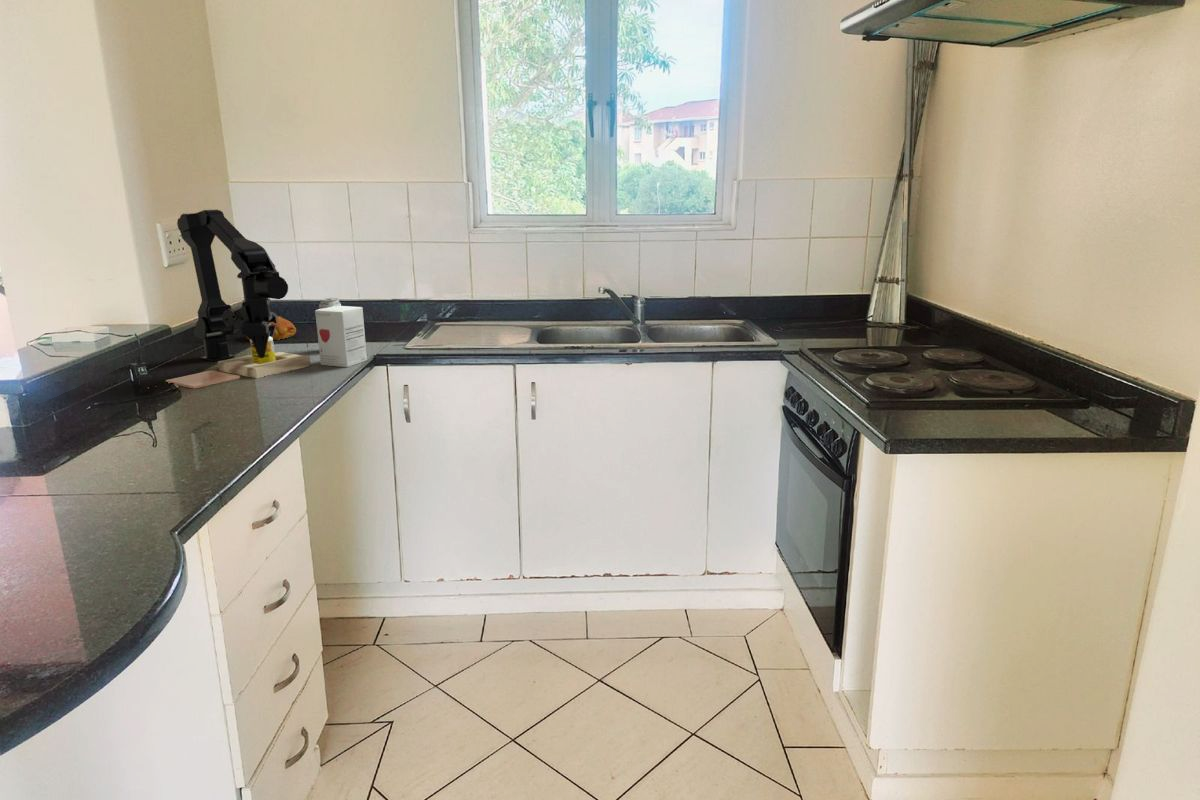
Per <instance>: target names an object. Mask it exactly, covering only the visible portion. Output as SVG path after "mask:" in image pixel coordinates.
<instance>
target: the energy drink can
mask: <svg viewBox="0 0 1200 800" xmlns="http://www.w3.org/2000/svg"><path fill="white" fill-rule="evenodd" d="M332 306H342V304H341V302H340V300H339V298H337V297H327V298H326V297H325V298H321V299H320V302H319V305H318V309H323V308H328V307H332Z"/></svg>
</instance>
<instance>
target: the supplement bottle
mask: <svg viewBox="0 0 1200 800" xmlns="http://www.w3.org/2000/svg"><path fill="white" fill-rule="evenodd" d="M249 342H250V343H249V344H250V351H251V355H252V360H253V363H256V364H263V363H267V362H272V361H276V360H275V351H276V350H275V343H274V341H273V338H272V337H270V336H269V339H268V343H267V348H266V352H265V356H264V358H259V356H258V354H257V351H256V349H255V346H254V344H253V342H252V340H251V339H250V340H249Z"/></svg>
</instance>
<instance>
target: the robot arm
mask: <svg viewBox="0 0 1200 800" xmlns="http://www.w3.org/2000/svg"><path fill="white" fill-rule="evenodd" d="M176 223H177V224H176V225H177V229H178V230H179V232H180V235H181V236H180V237H181V238H182V240H183V241H184V242H185V243H186V245H188V246H189V248H190V251H191V254H192V259H193V264H194V268H195V274H196V279H197V284H198V288H199V292H200V298H201V302H200V304H199V308H198V309H197V317H198V320H197V322H196V324H195V327H193V328H194V329H193V334H194V335H193V336H194V337H195V339H198V340H203V341H202V342H203V347H204V356H200V359H201V360H206V361H211V362H218V361H223V360H228V359H232V358H236V357H235V354H232V353H231V354H230V350H229V349H230V348H229V343H228V338H227V336H233V335H234V328H235V324H237V323H239V322H241V321H243V323H242V324H241V325H240V326H239V329H238V330H239V333H240V334H239V335H240V336H244V337H246V336H247V337H248V338H250V339H251V340H252V342H253V344H254V346H255V349H256V351H257V354H258V356H259V358H264V356H265V352H266V348H267V343H268V339H269V336H270V337H272V338H273V335H274V332H275V328H276V325H270V323H268V322H274V323H278V314H277V313H275V312H274V311H271V309H270V303H271V299H275V300H281V299H283V298H285V297H286V296H287V294H288V292H289V284H288V283H287V281H286V279H285V278H283V277H282V276H280V272H279V271H278V270H277V269H276V265H275V264H274V263H273V261H272V259H271V257H270V256H269V254H268V252H267V251H266V250H265V249H266V248H264V247H263V246H262V245H260V244H258V243H257V242H255V241H253V240H249V239H247V237H245V236H243V234H242V233H241V232H240V231H239V230H238V229H237V228H236V227H235V226H234V224H232V223H231V222H230V221H229V220H228V219H227V218H226V217H225V215H224V212H223V211H222V210H219V209H204V210H200V211H198V212H195V213H182V214H180V216H179V218H177V222H176ZM215 237H216V238H217V239H218V240H219V241H220V242H221V243H222V244H223V245H224V246H225V247H226V248H227V249H228V251H230V253H231V254H230V260H231V261H232V262H233V264H234V265H235V267H236V268H237V269H238V270H240V272H238V274H237V276H236V278H237V279H241V285H242V292H243V293H242V294H243V299H244V300H243V301H242V302H241V307H238V308H235V309H232V306H231V304H227V303H226V302H225V301H224V300H223V299H222V298H223V297H222V295H221V290H220V284H219V279H218V275H217V270H216V265H215V260H214V256H213V249H212V245H213V242H214V239H215ZM247 337H246V338H247Z"/></svg>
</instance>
